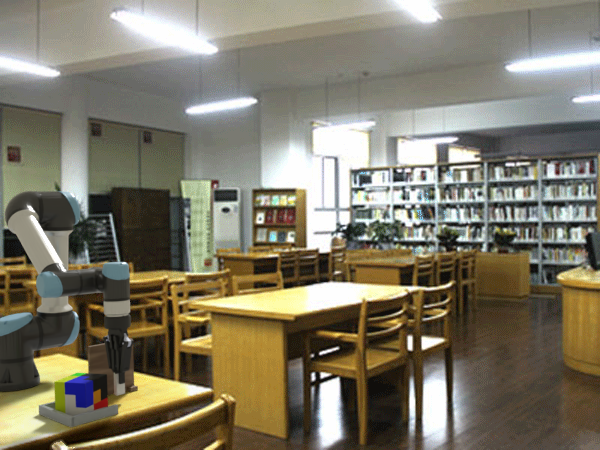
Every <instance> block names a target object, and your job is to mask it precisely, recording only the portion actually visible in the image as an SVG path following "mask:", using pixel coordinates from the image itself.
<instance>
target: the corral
mask: <svg viewBox="0 0 600 450" xmlns="http://www.w3.org/2000/svg"><path fill="white" fill-rule="evenodd" d="M118 414H119V404H117V403H115V404H112V405H108V406H107V407H104V408H100V409H97V410H93V411H89V412H86V413H82V414H78V415H75V416H71V415H68V414H65V413H63V412H60V411H58V410H55V400H54V401H51V402H47V403H43V404H39V405H38V415H40V416H43V417H45V418H46V419H47V418H48V419H50V420H52V421H54V422H57V423H59V424H61V425H64V426H66V427H69V428H73V427H77V426H80V425H83V424H88V423H91V422H93V421H94V422H95V421H97V420H101V419H104V418H108V417H112V416H115V415H118Z"/></svg>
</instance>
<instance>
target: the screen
mask: <svg viewBox="0 0 600 450" xmlns="http://www.w3.org/2000/svg"><path fill="white" fill-rule="evenodd" d="M129 339H130V340H133V341H134V339H133V338H131V337H130V338H129ZM87 364H88V365H87V370H88V372H87V373H93V374H107V389H108V396H111V394H112V395H114V373H113V372H112V369H109V366H108V360H107V353H106V347H105V343H99V344H94V345H88V346H87ZM134 367H135V365H134V344H133V345H132V350H131V360H130V369H129V371H126V372H125V392H126V391H128V392H136V391H138V389H139V388H138V386H137V385H135V371H134V370H135V368H134Z"/></svg>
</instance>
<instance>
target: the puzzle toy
mask: <svg viewBox="0 0 600 450" xmlns="http://www.w3.org/2000/svg"><path fill="white" fill-rule="evenodd" d="M53 383H54V401H55V410H58V411H60V412H63V413H65V414H68V415H71V416H75V415H78V414H82V413H86V412H89V411H93V410H97V409H100V408H104V407H107V406H109V398H108V397H109V395H108V389H107V374H93V373H88V372H87V373H86V372H75V373H72V374H71V375H67V376H66V377H63V378H60V379H58V380H56V381H54V382H53Z"/></svg>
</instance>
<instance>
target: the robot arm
mask: <svg viewBox="0 0 600 450" xmlns="http://www.w3.org/2000/svg"><path fill="white" fill-rule="evenodd" d="M79 204H80V203H79V201H78V200H77V197H76V196H75V195H74V194H73V193H71V192H70V191H61V190H53V191H52V190H51V191H45V190H43V191H40V190H39V191H38V190H37V191H36V190H35V191H33V190H26V191H22V192H19V193H17V194H16V195H14V196H13V197H12V198H11V199H9V201H8V203H7V205H6V207H5V210H4V221H5V225H6V226H7V227H8V230H9V231H10V232H11V233H12V234H15V235H16V236H17V239H18V240H19V242H20V243H21V245H22V248H23V250H24V251H25V253H26V254H27V256H28V258H29V260H30V261H31V264H32V266H33V267H34V269H35V271H36V272H37V274H38V275H37V277H36V281H35V284H36V285H35V287H36V289H37V290H36V292H37V294H38V295H39V296H40V297H41V304H40V305H39V306H38V307H37V308H36V315H34V316H33V314H32V313H31V312H20V313H12V314H9V315H5V316H2V317H0V392H14V391H20V390H26V389H30V388H33V387H35V386H38V385H39V384H40V383H41V376H40V372H39V370H38V368H37V365H36V362H35V359H34V351H40V350H41V351H42V350H48V349H53V348H61V347H64V346H68V345H71V344H73V343H75V341H76V340H77V337H78V336H79V332H80V320H79V315H78V314H77V312H76V311H73V310H74V308H73V307H72V306H71V304H69V297H70V296H78V295H90V294H95V293H96V294H98V293H99V294H100V293H102V294H103V314H104V315H105V316H104V317H103V321H104V322H103V325H104V329H106V330H108V331H107V335H104V336H103V337H102V340H103V342H104V343H105V347H106V353H107V360H108V366H109V369H112V372H113V373H114V394H113V395H114V396H120V395H124V394H126V391H125V372H126V371H129V369H130V360H131V350H132V345H133V346H134V339H133V340H130V338H129V332H128V328H130V327H131V325H132V324H131V323H132V322H131V321H132V317H131V315H130V313H131V302H130V301H131V300H130V299H131V298H130V297H131V282H130V281H131V279H130V276H131V275H130V269H129V267H130V265H129V264H128V262H126V261H112V262H105V263H103V265H102V267H100V266H96V267H94V266H93V267H92V266H91V267H89V268H82V269H81V268H79V269H69V235H70V234H72V232H74V226H75V225H78V224H79V222H80V220H81V209H80V205H79Z"/></svg>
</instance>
